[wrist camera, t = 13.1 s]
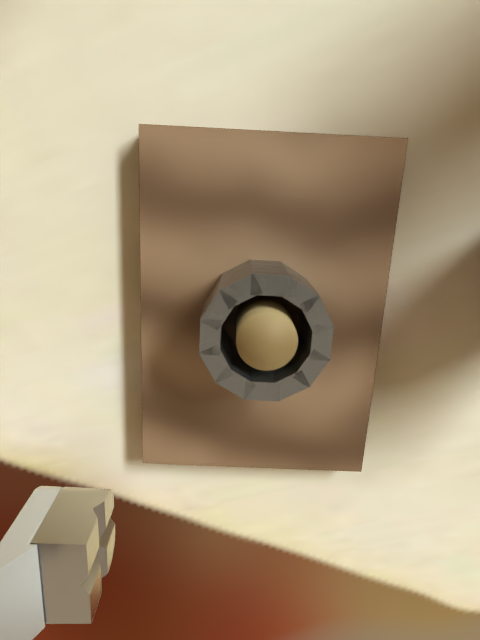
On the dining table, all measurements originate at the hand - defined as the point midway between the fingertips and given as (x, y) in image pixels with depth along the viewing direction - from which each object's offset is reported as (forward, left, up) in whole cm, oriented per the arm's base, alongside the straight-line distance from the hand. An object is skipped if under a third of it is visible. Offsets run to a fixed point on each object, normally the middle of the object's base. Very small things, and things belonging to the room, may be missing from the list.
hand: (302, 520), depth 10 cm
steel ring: (0, 0, -17) cm, 17 cm away
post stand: (0, 0, -19) cm, 19 cm away
